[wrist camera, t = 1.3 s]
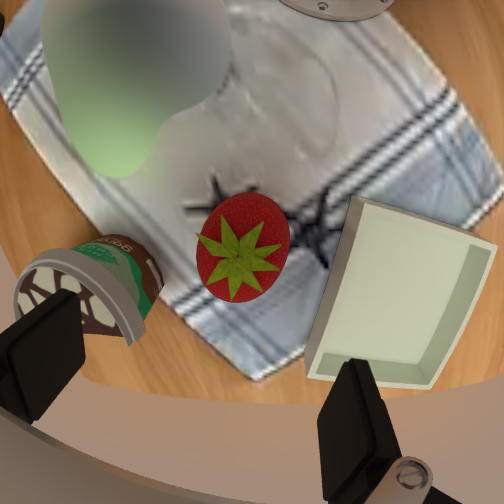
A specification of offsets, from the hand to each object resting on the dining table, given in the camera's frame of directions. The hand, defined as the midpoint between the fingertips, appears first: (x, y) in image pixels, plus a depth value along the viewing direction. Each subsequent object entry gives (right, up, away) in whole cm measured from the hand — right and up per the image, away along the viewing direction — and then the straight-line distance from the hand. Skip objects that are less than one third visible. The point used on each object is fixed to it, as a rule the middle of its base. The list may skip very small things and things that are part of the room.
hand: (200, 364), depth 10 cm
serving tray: (+15, 0, +16) cm, 22 cm away
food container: (-11, +4, +18) cm, 21 cm away
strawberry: (+2, +6, +16) cm, 17 cm away
